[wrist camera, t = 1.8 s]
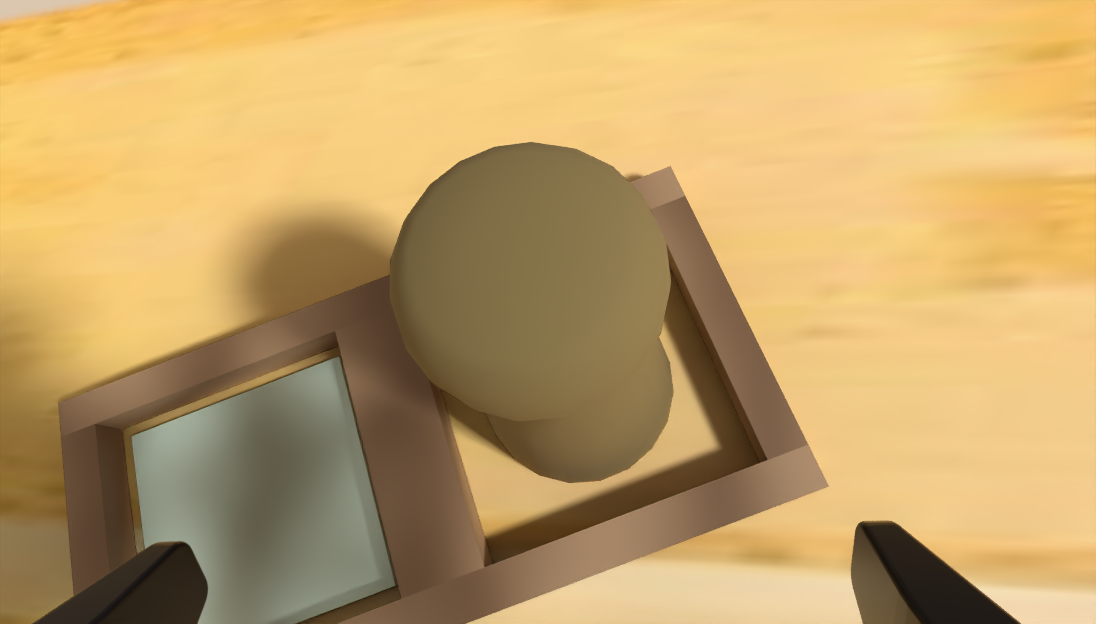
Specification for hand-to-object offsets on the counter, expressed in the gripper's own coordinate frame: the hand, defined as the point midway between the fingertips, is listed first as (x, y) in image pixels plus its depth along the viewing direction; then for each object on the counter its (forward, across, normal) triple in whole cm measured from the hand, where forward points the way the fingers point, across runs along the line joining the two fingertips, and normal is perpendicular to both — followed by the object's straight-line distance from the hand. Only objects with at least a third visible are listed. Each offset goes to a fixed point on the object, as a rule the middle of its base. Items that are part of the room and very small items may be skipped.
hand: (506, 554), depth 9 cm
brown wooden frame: (+10, +5, +6) cm, 13 cm away
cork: (+12, 0, +5) cm, 13 cm away
